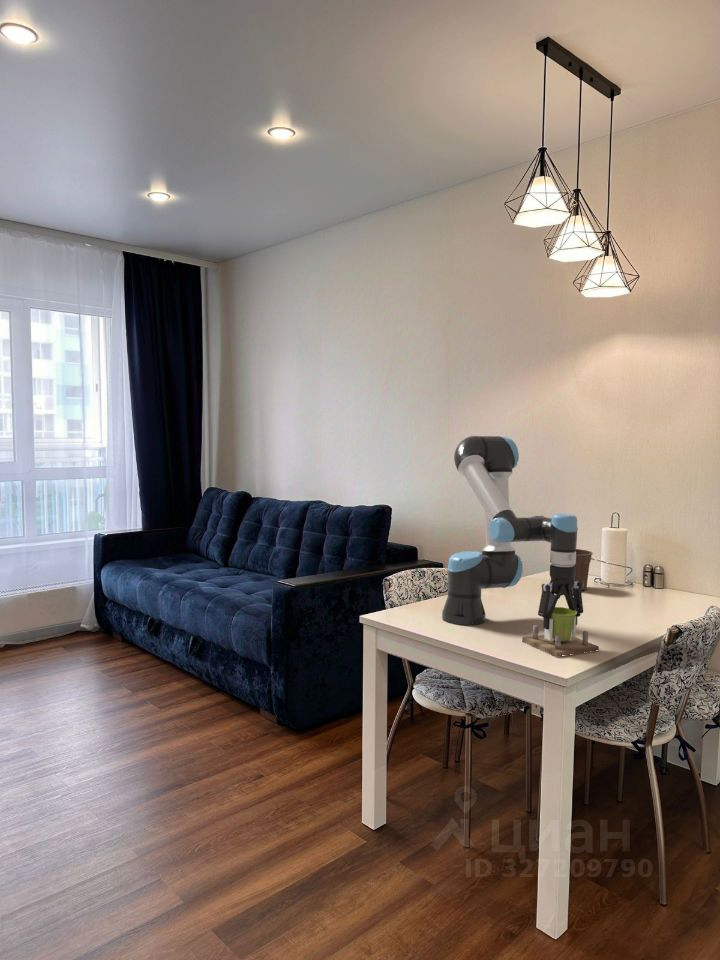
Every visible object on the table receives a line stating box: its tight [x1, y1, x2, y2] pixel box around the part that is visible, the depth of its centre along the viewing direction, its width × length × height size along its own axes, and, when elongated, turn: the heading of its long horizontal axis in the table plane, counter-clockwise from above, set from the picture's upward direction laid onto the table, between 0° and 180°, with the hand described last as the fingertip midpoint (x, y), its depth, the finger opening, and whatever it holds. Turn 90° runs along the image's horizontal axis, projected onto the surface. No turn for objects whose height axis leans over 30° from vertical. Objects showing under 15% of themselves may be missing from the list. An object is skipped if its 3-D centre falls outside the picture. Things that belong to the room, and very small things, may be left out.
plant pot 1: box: [551, 606, 577, 641], centre depth 207 cm, size 9×9×9 cm
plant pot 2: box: [572, 548, 594, 592], centre depth 290 cm, size 16×16×16 cm
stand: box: [521, 624, 600, 657], centre depth 207 cm, size 16×16×6 cm
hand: (559, 637), depth 207 cm, fingers closed on plant pot 1, 8 cm apart
